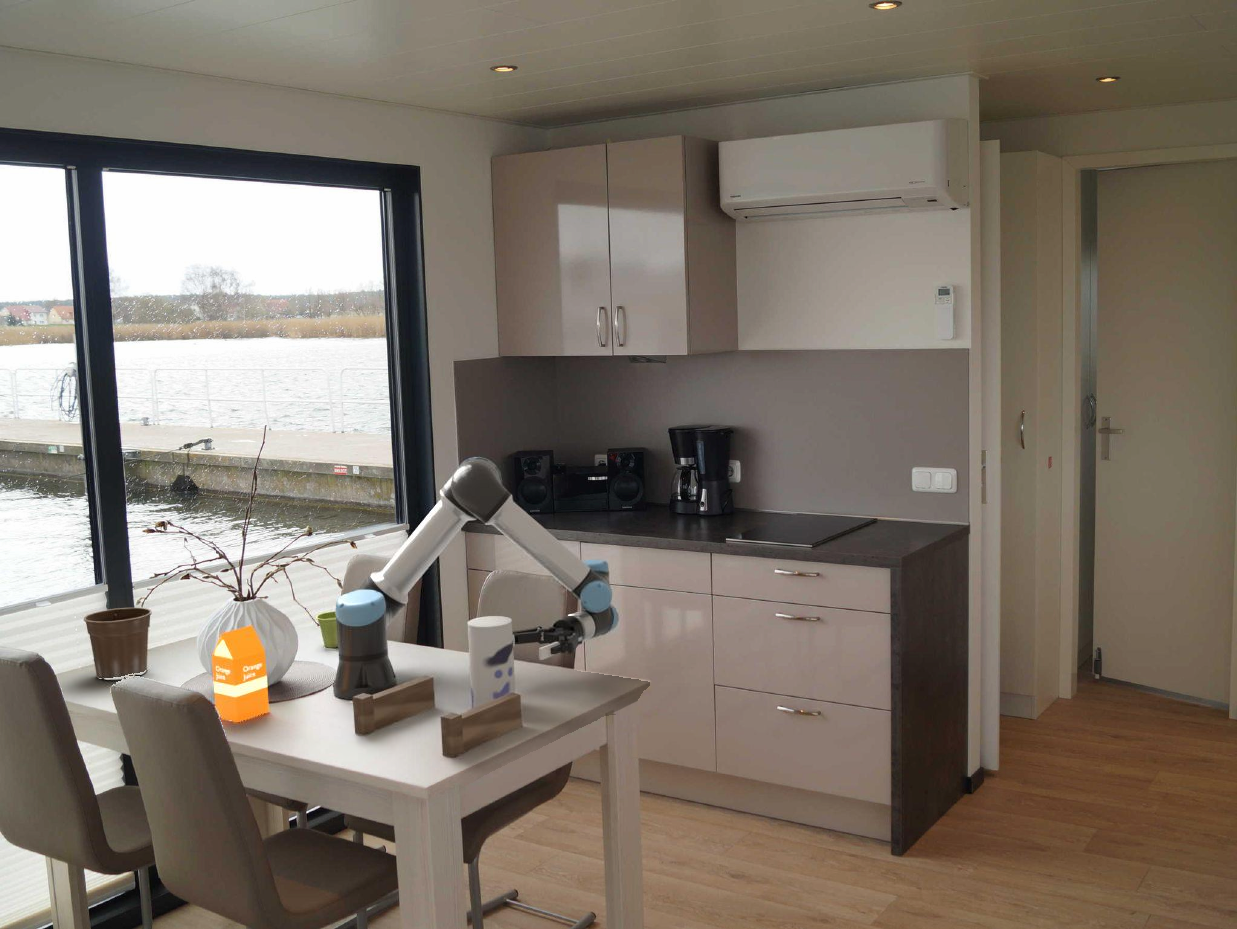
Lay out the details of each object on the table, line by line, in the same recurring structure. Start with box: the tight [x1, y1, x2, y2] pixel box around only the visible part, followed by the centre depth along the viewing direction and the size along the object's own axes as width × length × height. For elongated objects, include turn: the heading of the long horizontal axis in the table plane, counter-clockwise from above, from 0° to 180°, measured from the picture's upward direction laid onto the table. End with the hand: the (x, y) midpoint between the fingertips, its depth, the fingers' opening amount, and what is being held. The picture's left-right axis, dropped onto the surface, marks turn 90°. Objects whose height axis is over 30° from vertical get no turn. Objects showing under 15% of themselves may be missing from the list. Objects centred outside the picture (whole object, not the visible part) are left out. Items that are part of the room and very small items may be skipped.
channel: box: [352, 675, 523, 758], centre depth 244 cm, size 29×22×8 cm
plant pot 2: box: [315, 610, 338, 649], centre depth 318 cm, size 9×9×9 cm
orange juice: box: [211, 624, 270, 723], centre depth 258 cm, size 8×9×20 cm
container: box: [467, 615, 516, 709], centre depth 258 cm, size 10×10×20 cm
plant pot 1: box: [83, 607, 153, 678], centre depth 295 cm, size 16×16×16 cm
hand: (517, 650), depth 265 cm, fingers open, 13 cm apart
